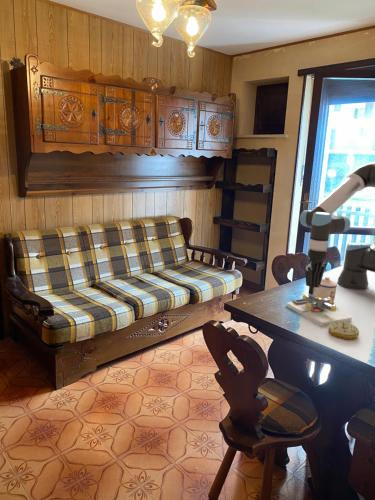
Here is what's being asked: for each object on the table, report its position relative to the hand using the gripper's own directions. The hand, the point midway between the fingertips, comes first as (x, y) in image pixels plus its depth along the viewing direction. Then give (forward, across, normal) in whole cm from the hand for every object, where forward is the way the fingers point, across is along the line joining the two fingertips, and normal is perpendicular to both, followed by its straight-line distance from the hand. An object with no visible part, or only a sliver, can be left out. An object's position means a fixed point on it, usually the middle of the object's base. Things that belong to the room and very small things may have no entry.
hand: (311, 300), depth 170 cm
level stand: (+4, +2, +5) cm, 7 cm away
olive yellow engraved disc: (+4, +10, +23) cm, 25 cm away
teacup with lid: (+4, -15, -3) cm, 16 cm away
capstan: (+2, +2, +5) cm, 6 cm away
